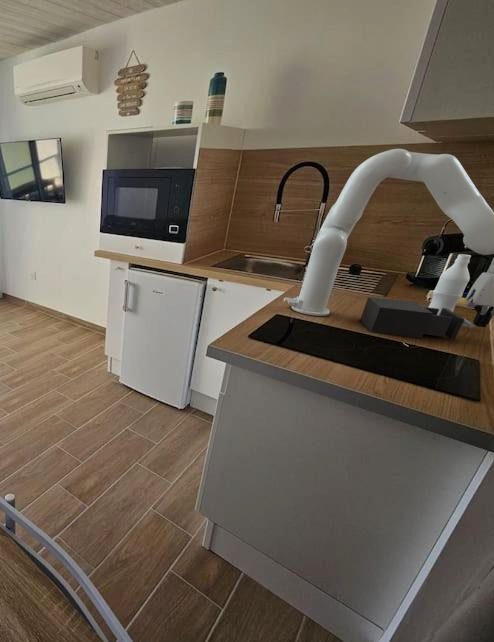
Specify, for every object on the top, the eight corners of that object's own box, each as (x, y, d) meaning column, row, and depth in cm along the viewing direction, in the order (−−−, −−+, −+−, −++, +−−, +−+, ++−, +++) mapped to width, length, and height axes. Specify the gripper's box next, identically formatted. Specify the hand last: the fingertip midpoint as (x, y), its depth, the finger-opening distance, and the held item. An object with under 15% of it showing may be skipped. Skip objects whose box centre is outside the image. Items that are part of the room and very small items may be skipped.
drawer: (454, 329, 128) (463, 310, 125) (472, 342, 119) (483, 321, 116) (392, 322, 134) (400, 303, 132) (405, 333, 125) (414, 313, 122)
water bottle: (436, 318, 140) (466, 253, 130) (454, 326, 133) (486, 257, 124) (416, 318, 141) (444, 252, 131) (432, 325, 134) (463, 257, 124)
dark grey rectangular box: (406, 325, 134) (416, 302, 130) (421, 338, 124) (433, 313, 120) (359, 320, 139) (368, 297, 135) (371, 331, 129) (380, 307, 125)
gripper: (532, 270, 114) (503, 325, 121) (467, 265, 120) (443, 318, 127) (550, 276, 108) (518, 333, 115) (481, 271, 114) (454, 326, 121)
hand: (479, 325), depth 121 cm, fingers closed
